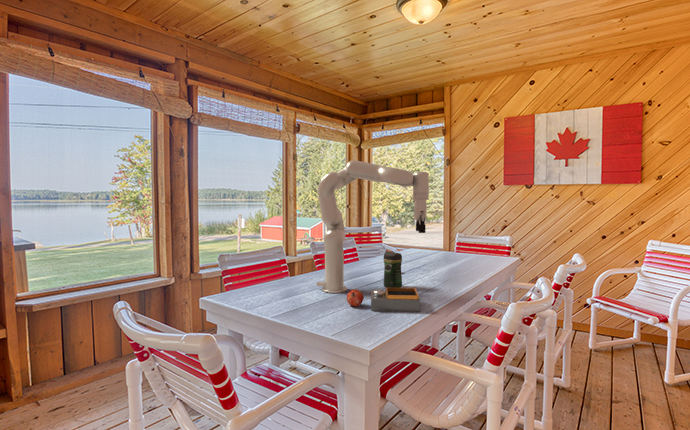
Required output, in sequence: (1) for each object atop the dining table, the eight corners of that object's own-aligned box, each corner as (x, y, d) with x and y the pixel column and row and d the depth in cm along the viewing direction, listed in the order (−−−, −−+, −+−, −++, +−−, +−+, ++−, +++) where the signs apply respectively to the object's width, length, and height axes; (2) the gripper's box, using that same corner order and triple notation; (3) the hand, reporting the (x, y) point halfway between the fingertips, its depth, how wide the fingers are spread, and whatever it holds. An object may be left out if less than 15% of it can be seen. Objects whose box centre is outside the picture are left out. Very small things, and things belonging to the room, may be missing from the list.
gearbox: (371, 310, 144) (371, 295, 143) (371, 301, 158) (371, 286, 157) (420, 311, 142) (420, 296, 142) (415, 301, 156) (416, 287, 156)
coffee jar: (404, 287, 181) (404, 252, 180) (394, 290, 176) (394, 254, 176) (391, 284, 189) (391, 250, 188) (380, 286, 184) (380, 251, 183)
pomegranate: (349, 307, 155) (340, 298, 148) (355, 293, 158) (347, 283, 151) (363, 312, 151) (354, 303, 144) (369, 297, 154) (361, 287, 147)
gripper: (410, 197, 179) (410, 230, 180) (415, 197, 162) (415, 233, 162) (425, 197, 178) (425, 230, 179) (431, 197, 161) (431, 233, 162)
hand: (420, 231), depth 171 cm, fingers open, 9 cm apart
